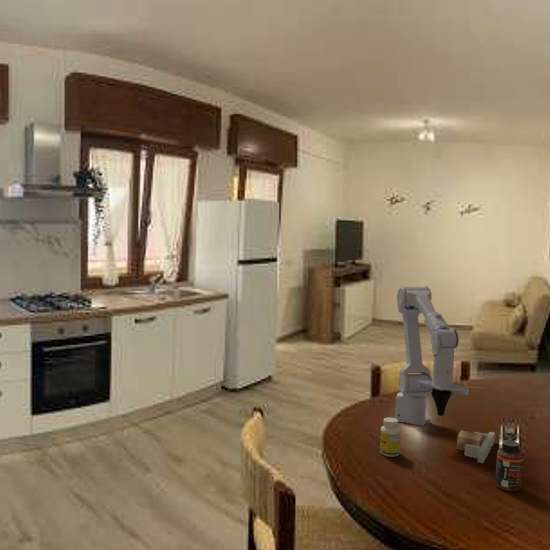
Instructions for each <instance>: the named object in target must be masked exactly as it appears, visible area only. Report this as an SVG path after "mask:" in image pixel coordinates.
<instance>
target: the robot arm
mask: <svg viewBox="0 0 550 550" xmlns="http://www.w3.org/2000/svg"><path fill="white" fill-rule="evenodd" d="M432 296H433V295H432V291H431V288H430V287H429V286H404V285H403V286H402V285H401V286H400V287H399V288H398V291H397V294H396V300H397V301H396V302H397V309H398V313H399V314H402V321H403V330H404V331H403V333H404V345H405V354H406V355H405V356H406V357H405V358H406V364H405V365H404V366H403V367H402V368H401V369H400V370H399V372H398V374H399V378H398V388H399V392H398V393H397V395H396V398H395V412H394V413H395V414H394V418H395V419H397V420H398V423H399V422H400V423H404V422H405V423H406V424H409V423H410V424H411V425H416V426H421V427H423V426H425V424H426V423H427V422H428V421H429V420H430V418H429V417H428V416H427V414H426V413H427V398H428V397H427V396H429V394H430V393H431V397H432V398H433V401H434V403H435V407H436V411H437V416H439V417H440V416H441V417H444V415H445V411H446V408H447V404H448V403H449V401H450V398H451V397H452V395H453V393H454V394H459V395H463V396H468V395H469V386H463V385H459V384H454V383H453V382H454V364H455V363H454V362H455V361H454V359H455V349H457V348H458V346H459V341H460V340H459V339H460V337H459V333H458V331H457V329H456V328H452V327H451V326H449V324H448V323H447V322H446V320H445V318H444V317H443V315H442V314H441V313H440V312H437V311H436V309H435V307H434V305H433V303H432ZM420 314H422V315H423V317H424V319H423V321H424V322H423V323H424V325H425V327H426V329H427V331H428V332H429V335H430V344H431V352H432V353H431V354H433V363H432V374H431V369H430V368H429V367H427V366H426V365H424V363H423V356H422V355H423V354H422V345H421V335H420V324H419V323H420V322H419V316H420ZM426 416H427V417H426ZM410 424H409V425H410Z"/></svg>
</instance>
